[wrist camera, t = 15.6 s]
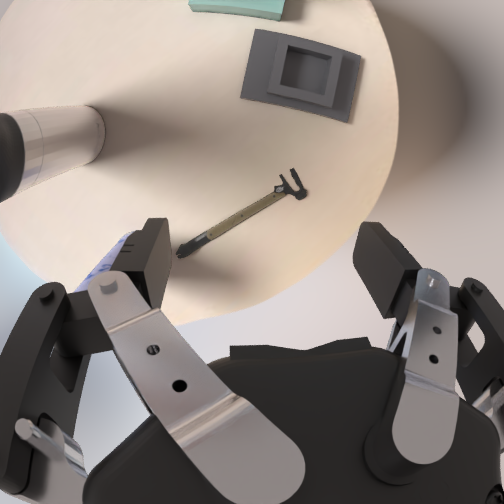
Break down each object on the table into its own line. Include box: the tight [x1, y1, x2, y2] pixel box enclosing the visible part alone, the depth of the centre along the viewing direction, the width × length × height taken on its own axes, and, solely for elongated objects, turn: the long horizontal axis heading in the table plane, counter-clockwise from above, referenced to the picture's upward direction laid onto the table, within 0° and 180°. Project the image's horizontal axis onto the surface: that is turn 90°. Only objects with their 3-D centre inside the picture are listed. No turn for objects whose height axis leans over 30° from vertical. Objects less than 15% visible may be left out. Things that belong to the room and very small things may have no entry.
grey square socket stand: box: [240, 29, 361, 123], centre depth 29 cm, size 14×10×4 cm
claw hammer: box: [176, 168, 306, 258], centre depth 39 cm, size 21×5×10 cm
